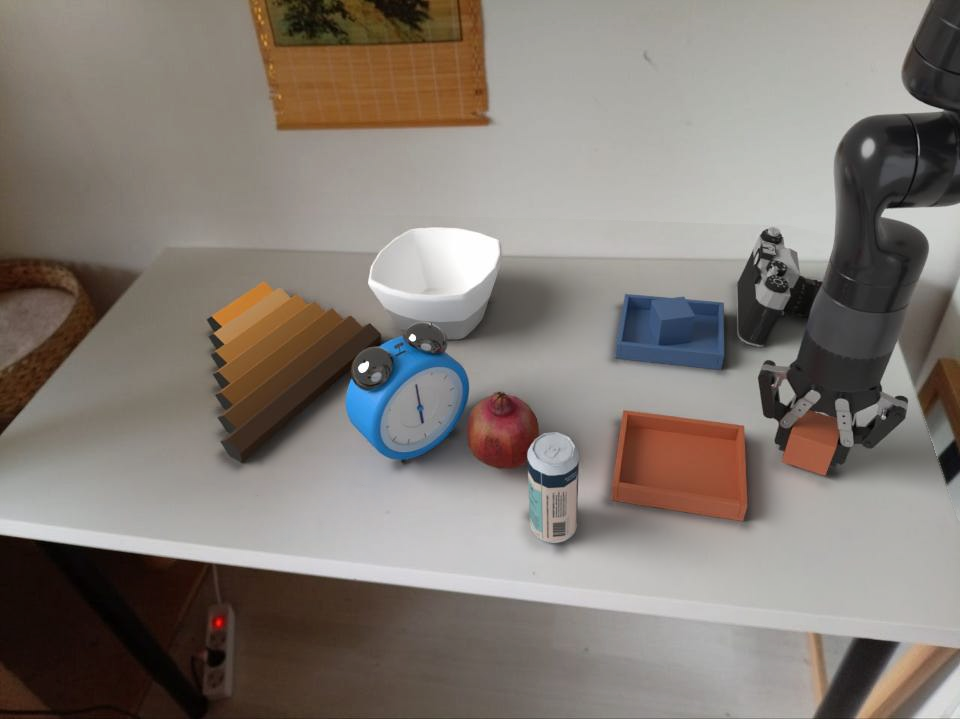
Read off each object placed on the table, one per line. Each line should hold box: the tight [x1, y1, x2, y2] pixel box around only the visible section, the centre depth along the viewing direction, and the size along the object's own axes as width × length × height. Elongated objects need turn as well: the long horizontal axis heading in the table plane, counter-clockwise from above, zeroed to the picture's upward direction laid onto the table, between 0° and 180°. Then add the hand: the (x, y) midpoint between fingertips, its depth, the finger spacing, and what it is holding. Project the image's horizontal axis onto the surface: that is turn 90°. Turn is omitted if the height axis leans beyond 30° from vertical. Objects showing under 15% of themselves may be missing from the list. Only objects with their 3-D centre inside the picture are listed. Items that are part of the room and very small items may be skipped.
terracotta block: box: [781, 410, 840, 477], centre depth 73 cm, size 4×4×4 cm
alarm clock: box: [345, 322, 470, 464], centre depth 76 cm, size 13×6×15 cm, turn 129°
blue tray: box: [615, 293, 725, 371], centre depth 91 cm, size 13×11×2 cm
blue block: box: [649, 296, 695, 346], centre depth 90 cm, size 4×4×4 cm
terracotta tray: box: [611, 409, 749, 522], centre depth 74 cm, size 13×11×2 cm
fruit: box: [465, 391, 541, 470], centre depth 74 cm, size 8×8×10 cm
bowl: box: [367, 226, 503, 340], centre depth 96 cm, size 18×18×9 cm
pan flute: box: [206, 280, 382, 464], centre depth 92 cm, size 25×3×25 cm
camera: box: [736, 226, 823, 348], centre depth 90 cm, size 15×11×10 cm
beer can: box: [527, 431, 580, 544], centre depth 66 cm, size 5×5×12 cm
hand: (808, 453), depth 74 cm, fingers closed on terracotta block, 4 cm apart
